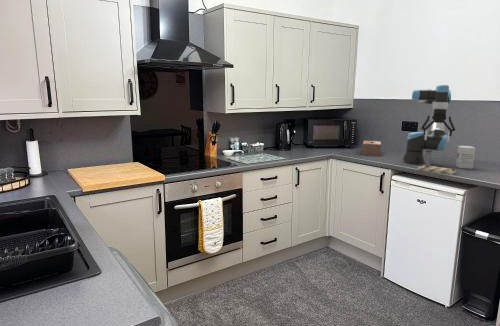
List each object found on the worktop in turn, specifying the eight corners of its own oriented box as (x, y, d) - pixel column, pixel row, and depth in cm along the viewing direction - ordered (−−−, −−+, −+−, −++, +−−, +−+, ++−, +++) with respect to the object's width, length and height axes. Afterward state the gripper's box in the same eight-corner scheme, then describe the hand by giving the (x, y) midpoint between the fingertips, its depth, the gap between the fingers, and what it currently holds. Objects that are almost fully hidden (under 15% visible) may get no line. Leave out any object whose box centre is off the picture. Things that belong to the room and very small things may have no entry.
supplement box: (455, 165, 255) (457, 145, 252) (469, 166, 252) (471, 146, 249) (458, 168, 246) (461, 147, 243) (473, 168, 244) (476, 147, 241)
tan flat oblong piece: (417, 169, 238) (418, 165, 237) (422, 167, 245) (422, 163, 245) (452, 174, 224) (452, 169, 223) (456, 172, 231) (456, 167, 230)
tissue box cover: (379, 156, 292) (380, 144, 290) (361, 155, 297) (362, 143, 295) (380, 152, 316) (380, 141, 314) (363, 151, 321) (364, 140, 319)
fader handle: (424, 166, 237) (426, 150, 235) (426, 165, 240) (428, 150, 238) (428, 167, 236) (430, 151, 234) (430, 166, 239) (432, 150, 237)
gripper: (418, 108, 235) (415, 139, 238) (461, 109, 221) (457, 142, 224) (420, 108, 241) (417, 139, 244) (462, 109, 228) (458, 141, 230)
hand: (436, 140), depth 234 cm, fingers open, 13 cm apart
